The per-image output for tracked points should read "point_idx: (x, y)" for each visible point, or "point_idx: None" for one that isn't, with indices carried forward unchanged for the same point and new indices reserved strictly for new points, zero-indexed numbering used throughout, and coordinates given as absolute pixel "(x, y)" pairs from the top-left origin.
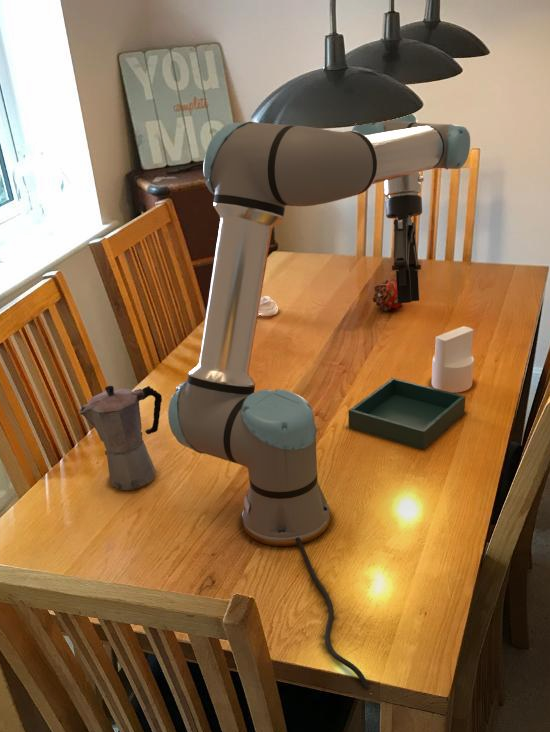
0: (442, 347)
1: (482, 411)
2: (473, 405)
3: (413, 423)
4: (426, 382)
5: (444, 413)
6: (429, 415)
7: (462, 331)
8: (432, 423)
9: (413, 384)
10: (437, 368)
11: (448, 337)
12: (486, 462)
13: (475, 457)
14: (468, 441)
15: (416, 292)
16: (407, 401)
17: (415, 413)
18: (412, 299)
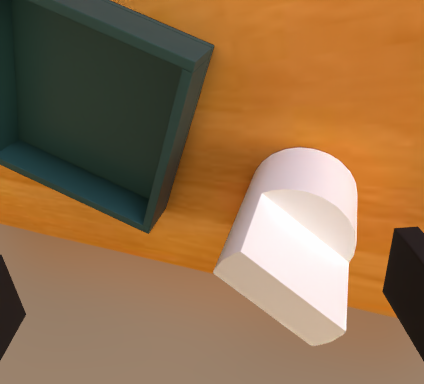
0: (223, 248)
1: (183, 236)
2: (203, 225)
3: (79, 119)
4: (305, 134)
5: (65, 193)
6: (122, 149)
7: (296, 321)
8: (21, 172)
9: (168, 128)
10: (251, 193)
11: (240, 282)
12: (36, 224)
13: (40, 212)
14: (77, 207)
15: (409, 321)
16: (169, 97)
17: (120, 120)
18: (393, 267)
